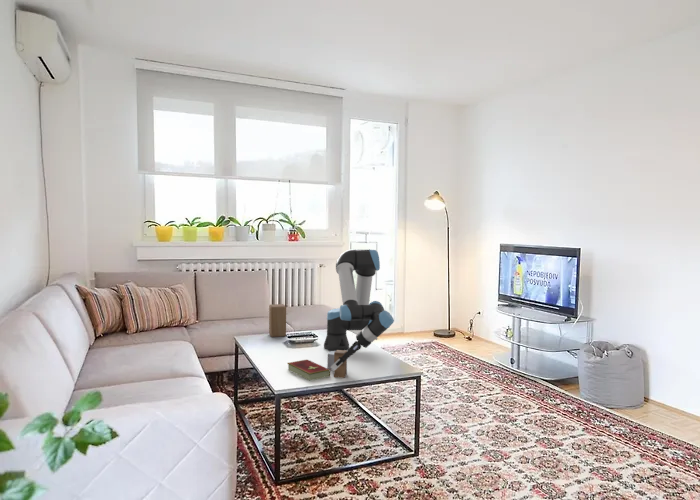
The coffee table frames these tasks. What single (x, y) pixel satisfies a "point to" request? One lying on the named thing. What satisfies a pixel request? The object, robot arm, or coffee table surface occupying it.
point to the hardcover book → (308, 369)
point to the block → (277, 320)
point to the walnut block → (342, 369)
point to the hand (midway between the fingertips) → (336, 364)
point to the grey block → (330, 359)
